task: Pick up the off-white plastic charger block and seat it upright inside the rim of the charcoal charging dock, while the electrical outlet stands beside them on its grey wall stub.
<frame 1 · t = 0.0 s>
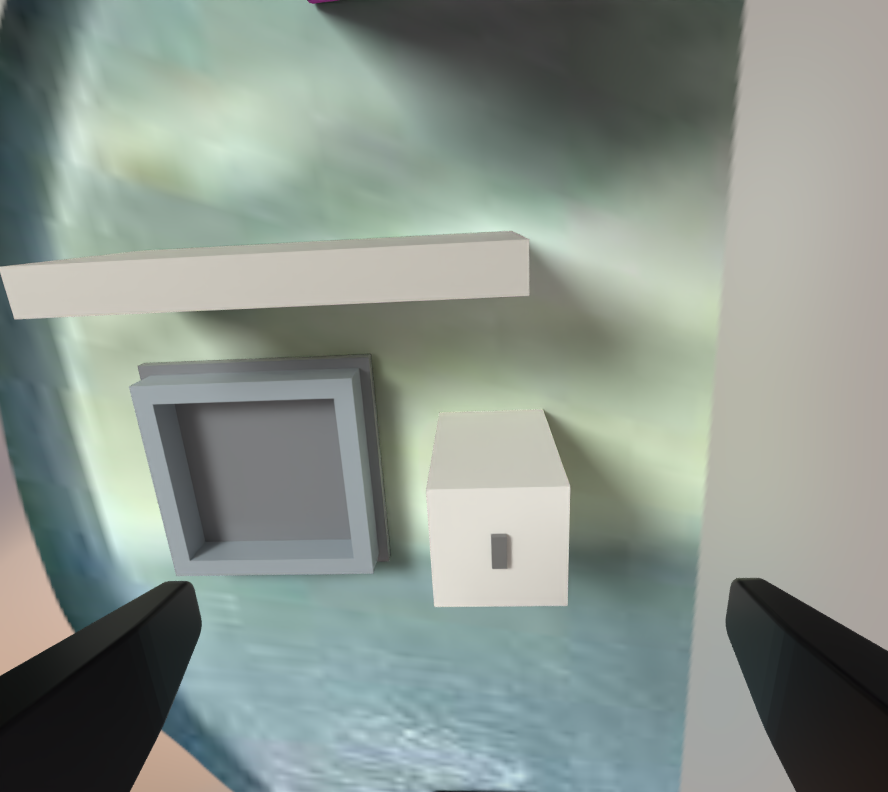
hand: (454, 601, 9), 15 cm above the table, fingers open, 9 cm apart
wall stub: (324, 260, 22), on the table
charging dock: (273, 463, 25), on the table
charger block: (491, 457, 24), on the table
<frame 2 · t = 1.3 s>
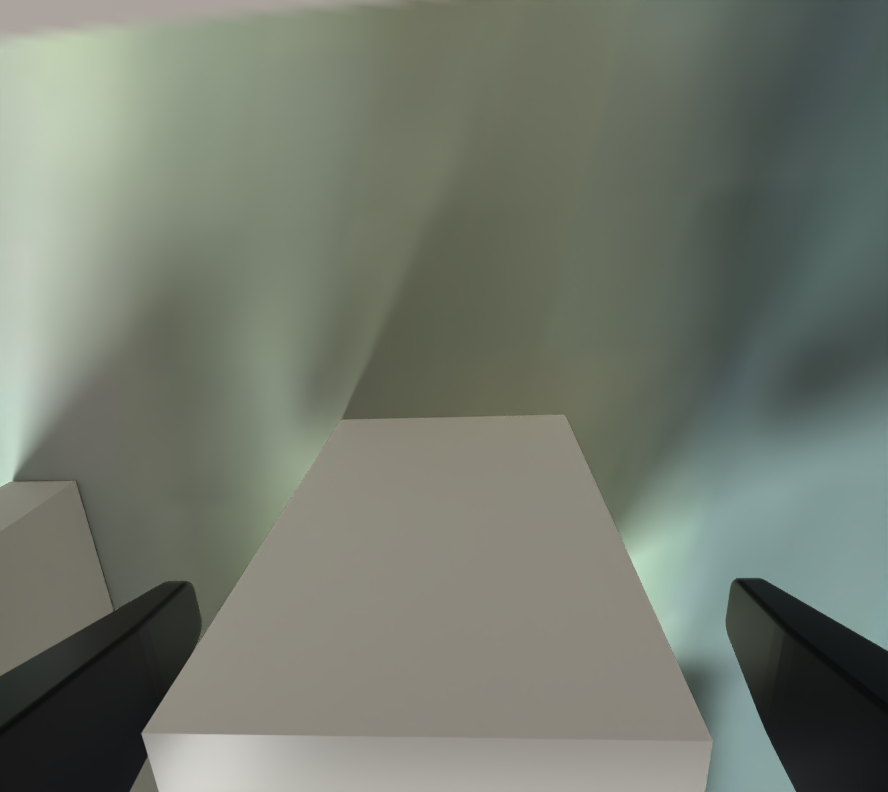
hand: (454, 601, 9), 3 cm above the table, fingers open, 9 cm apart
wall stub: (123, 737, 14), on the table
charger block: (455, 515, 12), on the table
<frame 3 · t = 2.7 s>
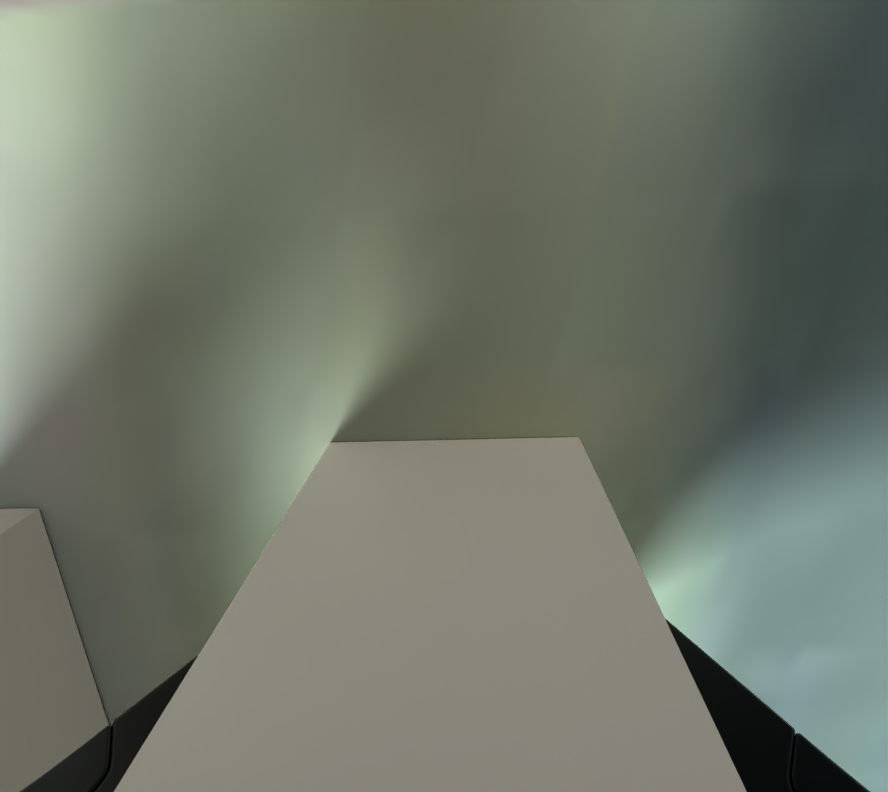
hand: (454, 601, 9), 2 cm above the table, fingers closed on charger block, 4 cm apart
wall stub: (97, 781, 13), on the table
charger block: (457, 546, 10), on the table, touching gripper
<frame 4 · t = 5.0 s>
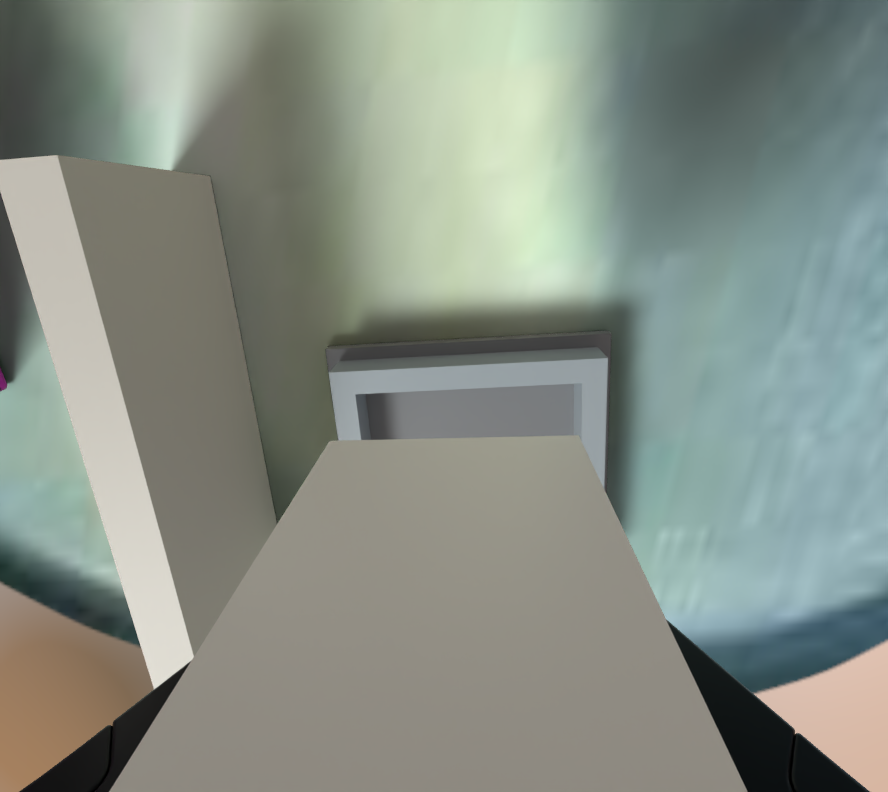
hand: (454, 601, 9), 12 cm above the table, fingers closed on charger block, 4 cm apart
wall stub: (231, 390, 20), on the table
charging dock: (473, 464, 21), on the table
charger block: (457, 545, 10), point 10 cm above the table, touching gripper
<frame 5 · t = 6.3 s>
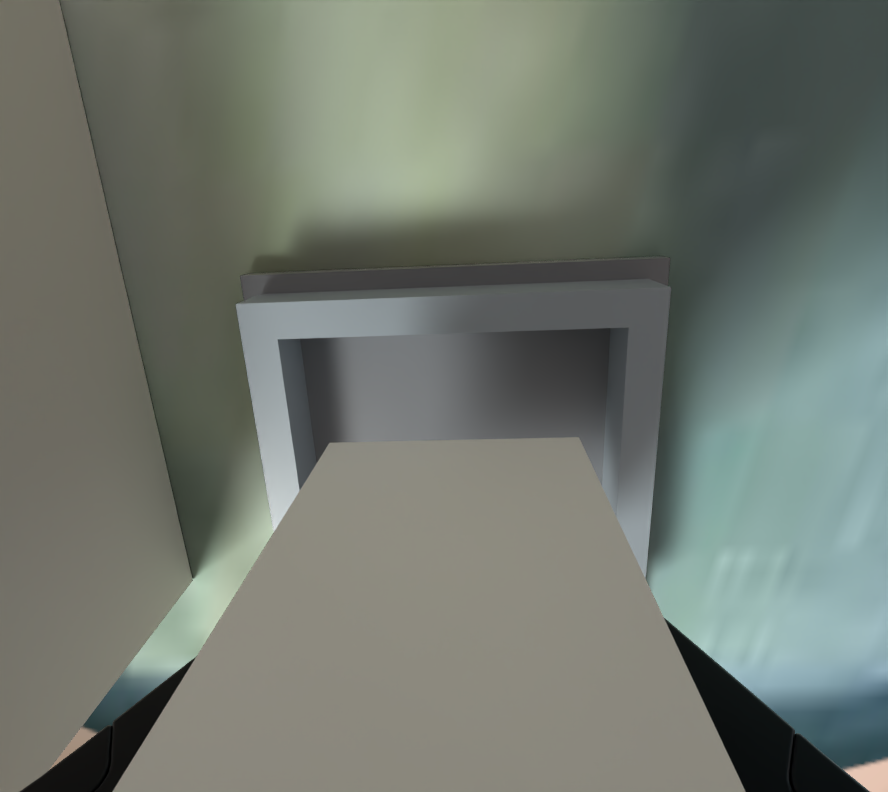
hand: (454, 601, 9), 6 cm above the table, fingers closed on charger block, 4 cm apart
wall stub: (108, 338, 14), on the table
charging dock: (458, 454, 15), on the table
charger block: (457, 546, 10), point 4 cm above the table, touching gripper
when the fingers open (3 cm above the table, at t = 7.5 s): charger block drops 1 cm, resting on charging dock.
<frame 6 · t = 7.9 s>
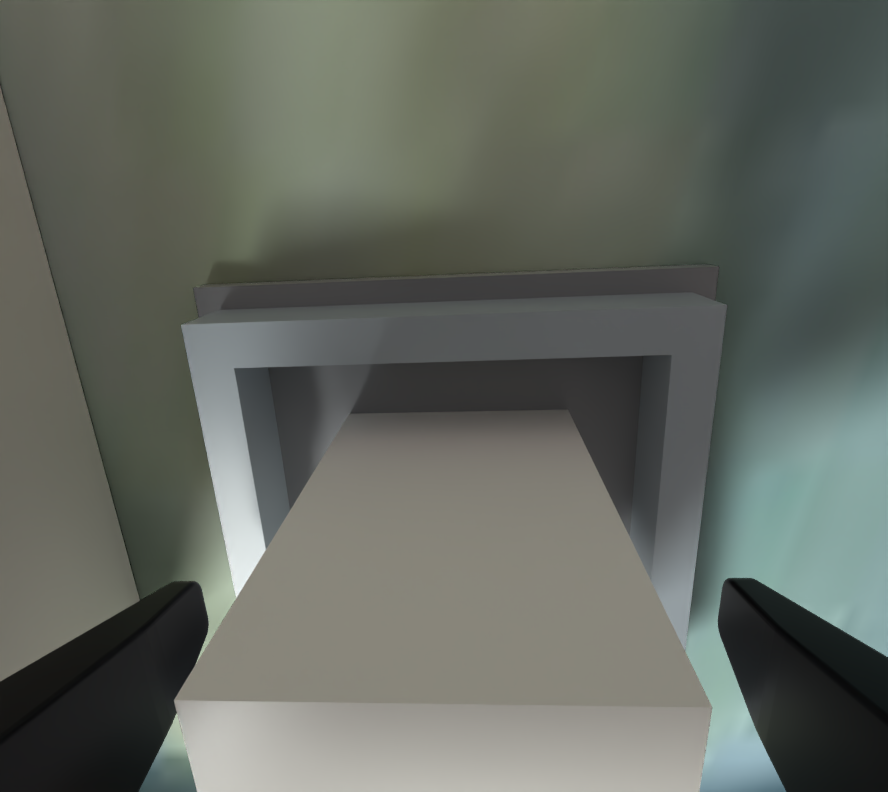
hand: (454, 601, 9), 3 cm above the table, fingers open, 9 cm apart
wall stub: (41, 361, 12), on the table
charging dock: (458, 497, 12), on the table
charger block: (460, 507, 12), resting on charging dock
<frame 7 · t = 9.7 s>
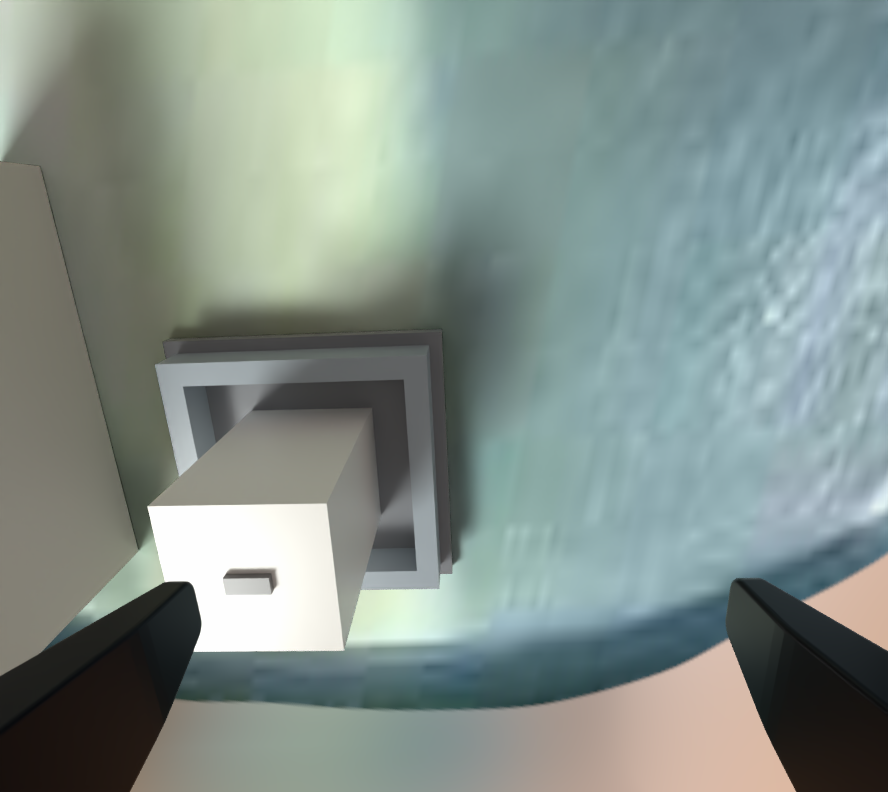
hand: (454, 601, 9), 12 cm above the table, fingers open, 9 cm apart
wall stub: (75, 381, 20), on the table
charging dock: (320, 459, 21), on the table
charger block: (318, 464, 21), resting on charging dock
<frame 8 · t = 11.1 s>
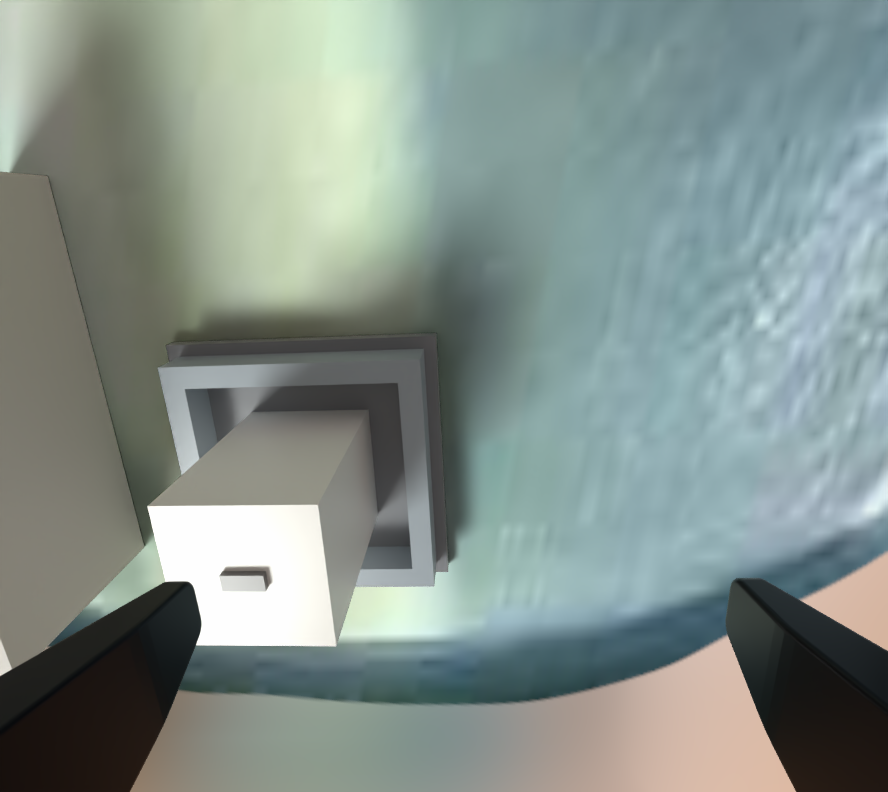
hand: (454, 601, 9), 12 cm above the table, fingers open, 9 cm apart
wall stub: (83, 383, 21), on the table
charging dock: (318, 459, 22), on the table
charger block: (316, 464, 21), resting on charging dock
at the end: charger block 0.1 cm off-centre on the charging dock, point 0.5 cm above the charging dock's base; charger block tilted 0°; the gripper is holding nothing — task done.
